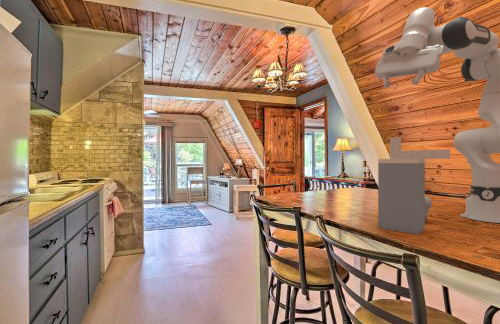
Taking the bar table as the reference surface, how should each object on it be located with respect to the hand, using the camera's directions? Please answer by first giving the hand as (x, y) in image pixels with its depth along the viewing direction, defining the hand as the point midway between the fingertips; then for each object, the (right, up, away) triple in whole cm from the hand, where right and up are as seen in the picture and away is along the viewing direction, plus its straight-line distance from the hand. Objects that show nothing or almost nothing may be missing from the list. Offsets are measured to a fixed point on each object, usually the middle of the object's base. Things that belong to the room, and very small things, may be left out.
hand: (399, 85), depth 94 cm
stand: (+5, -51, +8) cm, 52 cm away
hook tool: (+9, -25, +4) cm, 27 cm away
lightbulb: (+19, -51, +18) cm, 58 cm away
